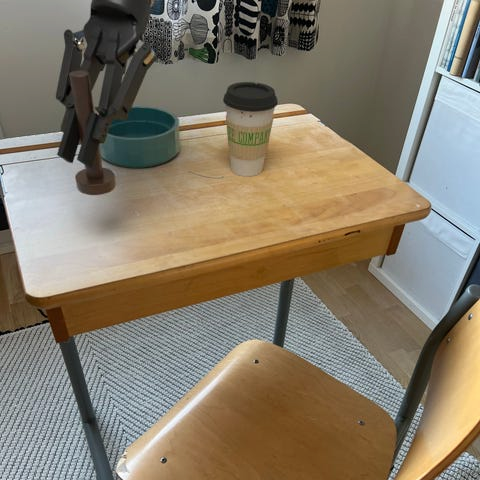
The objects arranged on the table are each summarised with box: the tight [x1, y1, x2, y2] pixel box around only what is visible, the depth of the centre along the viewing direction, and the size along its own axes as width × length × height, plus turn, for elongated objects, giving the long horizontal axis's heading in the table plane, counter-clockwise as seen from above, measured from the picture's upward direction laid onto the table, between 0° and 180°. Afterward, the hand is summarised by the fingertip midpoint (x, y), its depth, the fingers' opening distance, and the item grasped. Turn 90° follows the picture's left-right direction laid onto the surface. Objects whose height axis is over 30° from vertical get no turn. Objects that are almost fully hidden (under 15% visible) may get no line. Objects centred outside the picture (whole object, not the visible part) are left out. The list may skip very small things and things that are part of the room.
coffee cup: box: [222, 81, 278, 177], centre depth 96 cm, size 10×10×15 cm
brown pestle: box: [69, 70, 117, 196], centre depth 70 cm, size 6×6×16 cm
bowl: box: [99, 105, 181, 169], centre depth 103 cm, size 17×17×6 cm
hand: (74, 161), depth 69 cm, fingers closed on brown pestle, 2 cm apart
